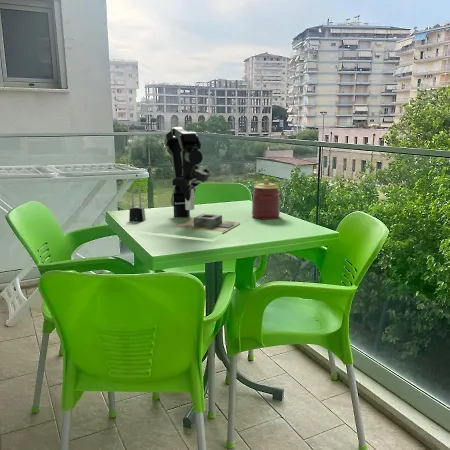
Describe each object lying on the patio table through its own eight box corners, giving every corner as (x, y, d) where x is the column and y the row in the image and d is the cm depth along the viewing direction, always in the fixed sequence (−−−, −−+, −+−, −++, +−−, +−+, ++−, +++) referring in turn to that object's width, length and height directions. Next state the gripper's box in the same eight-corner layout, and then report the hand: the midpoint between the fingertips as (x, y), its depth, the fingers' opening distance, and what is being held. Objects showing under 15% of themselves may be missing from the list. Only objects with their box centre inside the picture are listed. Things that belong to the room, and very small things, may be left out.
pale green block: (182, 209, 177) (181, 186, 175) (185, 208, 180) (184, 185, 178) (194, 210, 175) (194, 186, 173) (197, 209, 177) (197, 186, 175)
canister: (279, 214, 201) (280, 177, 197) (280, 219, 188) (281, 181, 184) (252, 213, 202) (252, 177, 198) (251, 219, 190) (251, 180, 186)
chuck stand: (172, 228, 172) (172, 218, 171) (192, 220, 188) (192, 210, 187) (223, 234, 163) (223, 222, 162) (240, 224, 179) (240, 214, 178)
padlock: (128, 221, 187) (126, 188, 183) (131, 219, 191) (129, 186, 187) (143, 221, 186) (141, 188, 183) (145, 219, 190) (144, 186, 187)
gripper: (195, 165, 161) (196, 205, 165) (215, 161, 178) (216, 198, 182) (170, 164, 166) (172, 203, 169) (192, 161, 183) (193, 196, 186)
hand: (189, 200), depth 176 cm, fingers closed on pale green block, 3 cm apart
